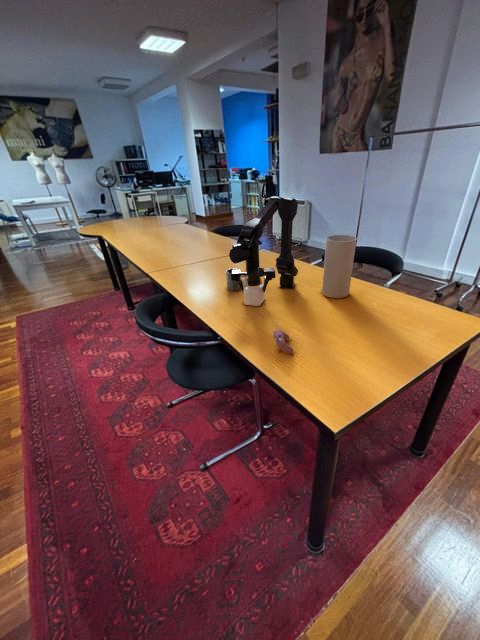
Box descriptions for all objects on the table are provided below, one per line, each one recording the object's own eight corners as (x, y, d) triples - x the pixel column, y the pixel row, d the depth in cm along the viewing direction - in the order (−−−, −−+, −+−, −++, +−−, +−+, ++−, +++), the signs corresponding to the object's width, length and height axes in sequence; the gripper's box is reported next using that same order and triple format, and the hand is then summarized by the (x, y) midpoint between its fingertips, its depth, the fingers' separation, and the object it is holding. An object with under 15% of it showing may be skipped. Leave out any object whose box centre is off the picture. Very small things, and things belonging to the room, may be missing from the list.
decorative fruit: (253, 297, 137) (253, 276, 132) (240, 293, 142) (239, 273, 136) (266, 291, 144) (265, 271, 138) (252, 287, 148) (251, 268, 142)
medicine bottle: (264, 299, 134) (263, 274, 128) (259, 306, 129) (257, 280, 122) (250, 298, 136) (248, 273, 130) (244, 304, 131) (242, 278, 124)
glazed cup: (244, 286, 150) (242, 268, 145) (238, 291, 144) (237, 273, 139) (230, 285, 152) (229, 267, 147) (225, 290, 146) (223, 272, 141)
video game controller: (278, 343, 105) (269, 328, 102) (290, 337, 105) (281, 322, 101) (282, 359, 97) (273, 343, 94) (295, 353, 96) (285, 337, 93)
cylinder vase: (316, 294, 138) (320, 238, 125) (330, 286, 146) (336, 233, 132) (340, 301, 131) (347, 242, 118) (353, 292, 139) (362, 237, 125)
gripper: (229, 264, 114) (232, 301, 123) (276, 262, 115) (277, 299, 124) (229, 256, 124) (232, 291, 132) (273, 254, 125) (274, 289, 133)
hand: (254, 293), depth 130 cm, fingers closed on medicine bottle, 9 cm apart
